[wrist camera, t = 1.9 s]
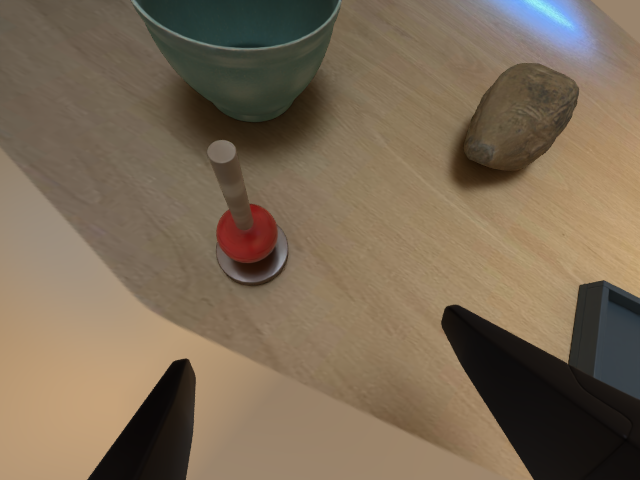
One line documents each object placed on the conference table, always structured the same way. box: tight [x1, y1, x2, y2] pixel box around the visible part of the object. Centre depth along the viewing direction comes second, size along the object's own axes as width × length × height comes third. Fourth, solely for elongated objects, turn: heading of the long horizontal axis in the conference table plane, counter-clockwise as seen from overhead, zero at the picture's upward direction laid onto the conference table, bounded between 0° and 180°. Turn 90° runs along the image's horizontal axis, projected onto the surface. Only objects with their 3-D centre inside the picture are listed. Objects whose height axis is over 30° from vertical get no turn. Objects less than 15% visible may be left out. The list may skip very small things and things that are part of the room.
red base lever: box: [207, 140, 288, 285], centre depth 19 cm, size 6×6×14 cm
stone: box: [464, 63, 579, 171], centre depth 29 cm, size 17×9×8 cm, turn 137°
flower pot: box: [131, 0, 342, 122], centre depth 26 cm, size 16×16×11 cm
